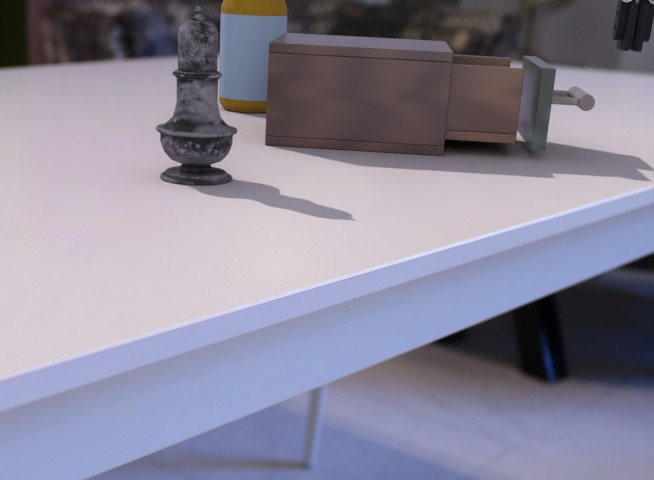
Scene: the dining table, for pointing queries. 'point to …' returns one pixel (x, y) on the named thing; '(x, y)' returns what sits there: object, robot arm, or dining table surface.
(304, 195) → the dining table surface
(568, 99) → the drawer
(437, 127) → the cabinet
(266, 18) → the bottle
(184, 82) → the salt shaker
